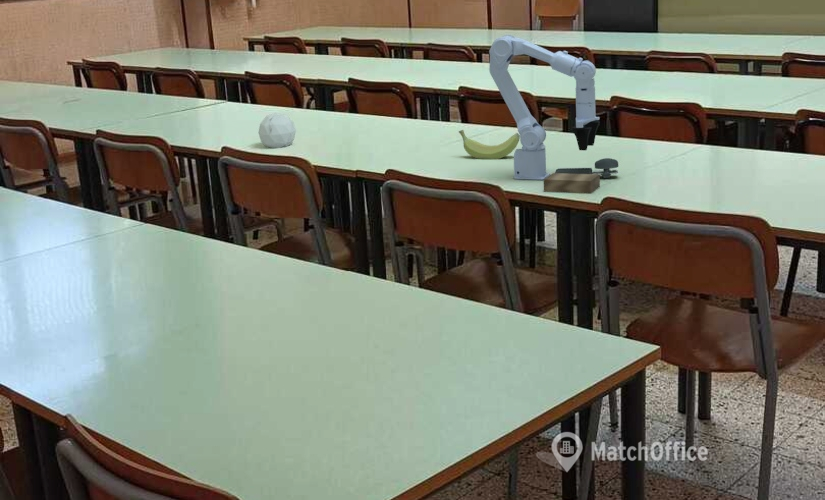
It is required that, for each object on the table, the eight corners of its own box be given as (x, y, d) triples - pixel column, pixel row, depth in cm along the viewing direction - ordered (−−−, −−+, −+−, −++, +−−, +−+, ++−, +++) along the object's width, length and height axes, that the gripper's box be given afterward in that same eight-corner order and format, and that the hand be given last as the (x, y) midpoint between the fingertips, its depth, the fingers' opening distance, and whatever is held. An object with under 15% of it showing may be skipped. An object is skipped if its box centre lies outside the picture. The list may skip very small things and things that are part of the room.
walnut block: (543, 192, 308) (543, 179, 307) (553, 186, 316) (553, 173, 315) (590, 194, 302) (590, 181, 301) (599, 187, 310) (599, 174, 308)
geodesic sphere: (294, 153, 396) (291, 114, 392) (256, 155, 396) (252, 117, 393) (299, 146, 410) (296, 109, 407) (263, 148, 411) (259, 111, 407)
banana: (502, 173, 355) (450, 146, 359) (506, 170, 360) (455, 144, 364) (519, 136, 350) (466, 110, 354) (523, 134, 355) (470, 108, 359)
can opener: (619, 176, 322) (618, 156, 321) (618, 180, 318) (618, 159, 316) (556, 177, 327) (555, 157, 325) (554, 180, 322) (553, 160, 320)
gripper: (592, 106, 308) (593, 152, 312) (605, 99, 321) (605, 143, 325) (568, 106, 311) (569, 152, 315) (582, 99, 324) (583, 143, 328)
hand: (586, 147), depth 320 cm, fingers open, 7 cm apart
